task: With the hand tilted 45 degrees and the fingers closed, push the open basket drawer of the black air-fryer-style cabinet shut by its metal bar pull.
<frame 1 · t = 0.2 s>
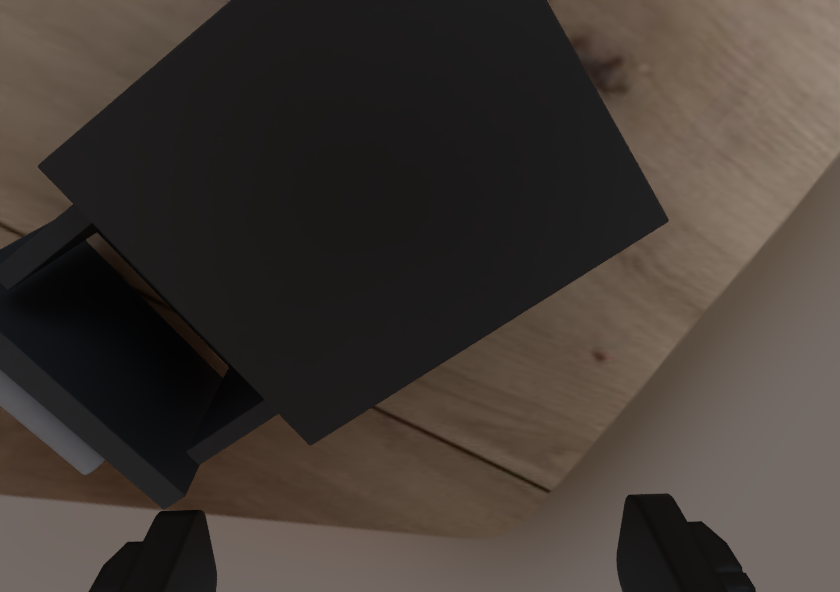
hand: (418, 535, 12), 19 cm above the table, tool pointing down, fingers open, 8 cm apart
cabinet: (375, 141, 27), on the table
drawer: (178, 304, 25), point 5 cm above the table, slide at 6.0 cm
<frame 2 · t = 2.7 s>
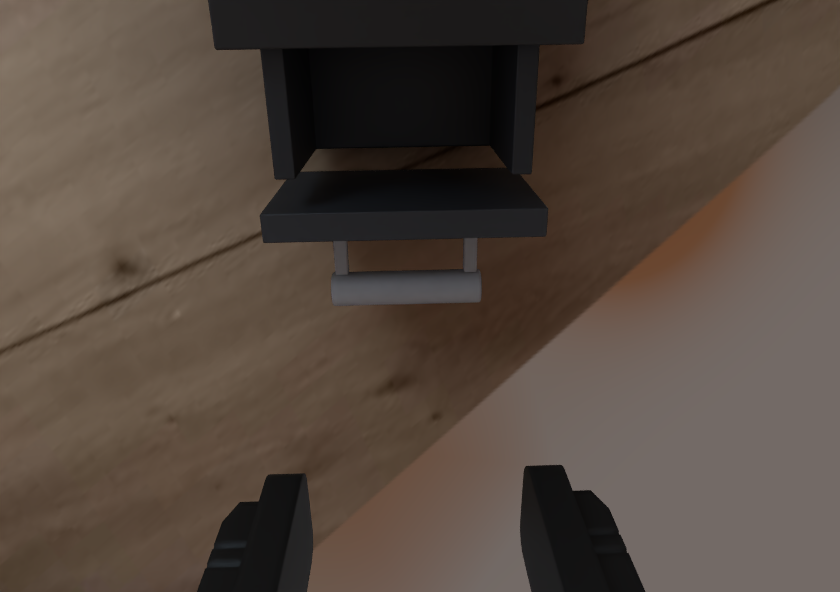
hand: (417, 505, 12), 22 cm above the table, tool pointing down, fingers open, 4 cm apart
drawer: (402, 109, 26), point 5 cm above the table, slide at 6.0 cm
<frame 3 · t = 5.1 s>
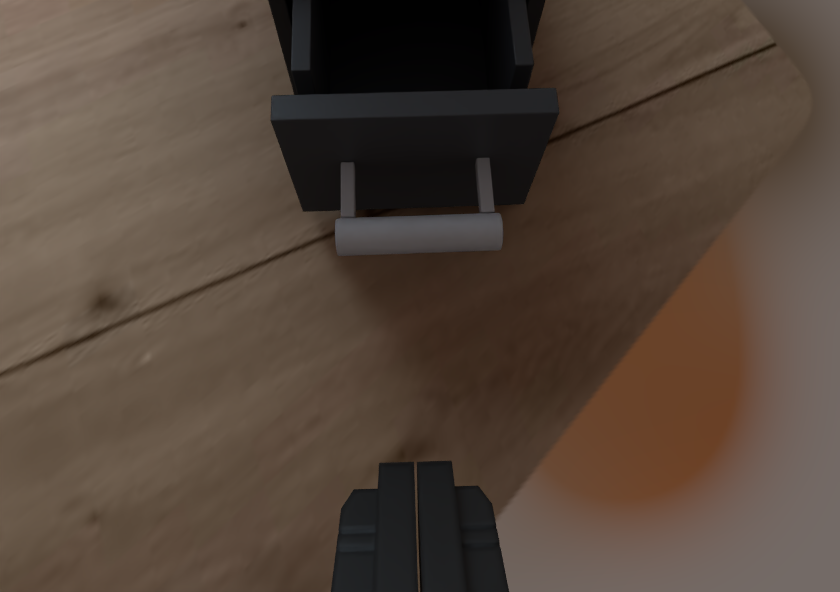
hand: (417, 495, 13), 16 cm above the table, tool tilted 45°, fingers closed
cabinet: (403, 0, 37), on the table
drawer: (410, 84, 29), point 5 cm above the table, slide at 6.0 cm
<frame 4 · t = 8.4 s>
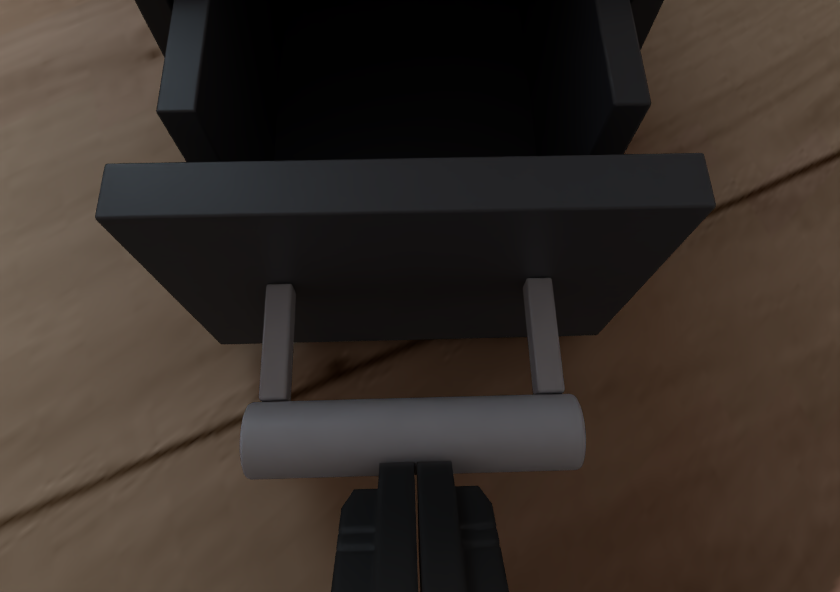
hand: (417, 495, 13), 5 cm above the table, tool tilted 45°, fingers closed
cabinet: (402, 20, 24), on the table
drawer: (405, 134, 16), point 5 cm above the table, slide at 5.1 cm, touching gripper
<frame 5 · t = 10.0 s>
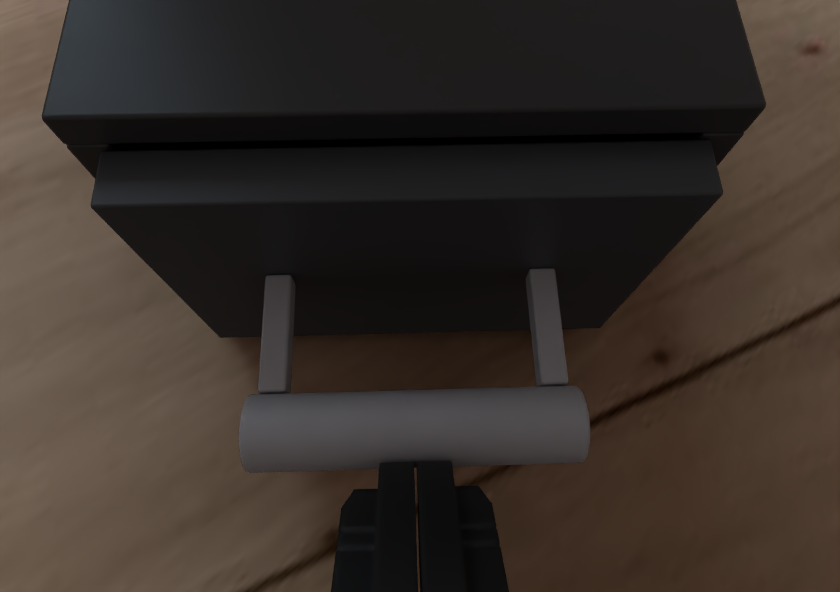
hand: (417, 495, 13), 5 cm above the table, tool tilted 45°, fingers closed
cabinet: (405, 117, 22), on the table
drawer: (406, 124, 16), point 5 cm above the table, slide at 0.0 cm, touching gripper
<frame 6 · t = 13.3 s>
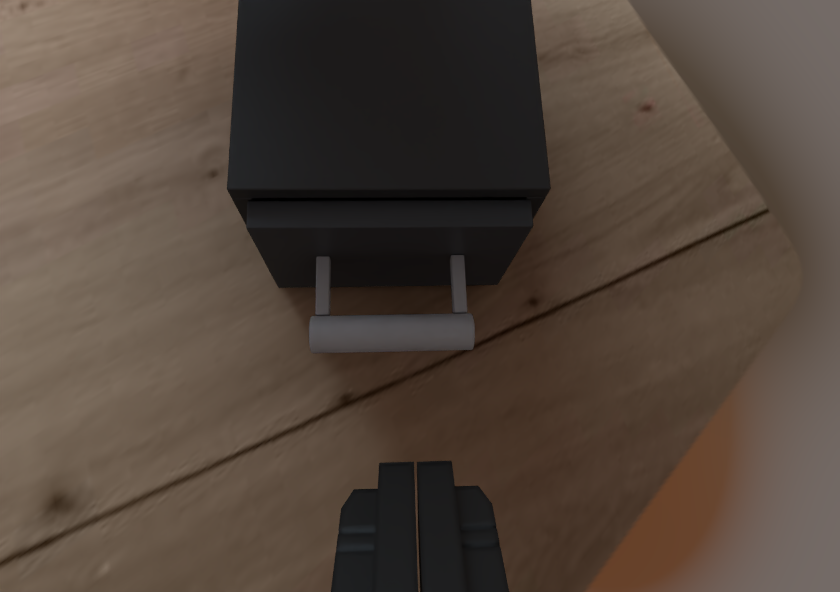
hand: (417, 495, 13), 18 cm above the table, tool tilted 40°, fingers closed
cabinet: (386, 149, 35), on the table
drawer: (388, 170, 29), point 5 cm above the table, slide at 0.0 cm
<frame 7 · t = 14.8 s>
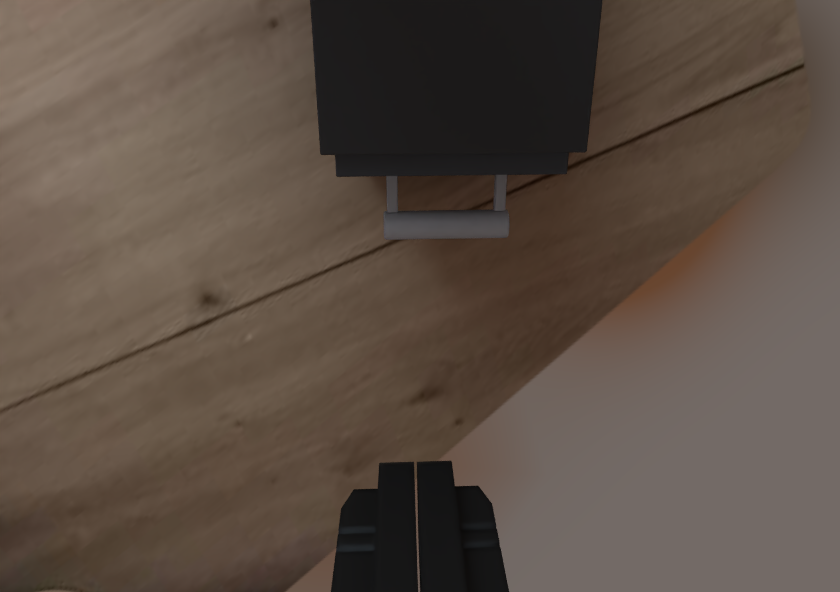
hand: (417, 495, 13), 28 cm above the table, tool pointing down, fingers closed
drawer: (447, 71, 32), point 5 cm above the table, slide at 0.0 cm
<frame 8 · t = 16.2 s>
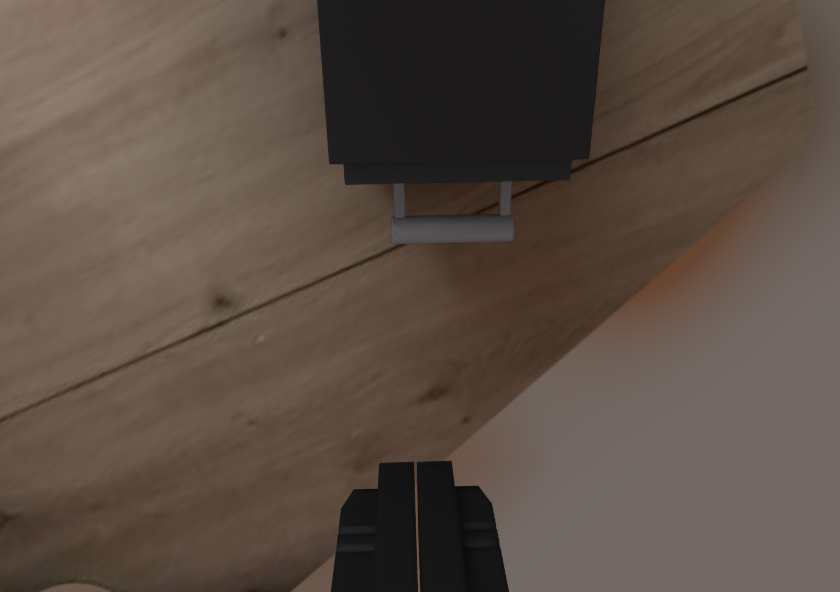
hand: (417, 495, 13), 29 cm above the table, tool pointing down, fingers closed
cabinet: (446, 2, 35), on the table
drawer: (452, 80, 32), point 5 cm above the table, slide at 0.0 cm
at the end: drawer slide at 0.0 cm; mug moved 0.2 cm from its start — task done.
